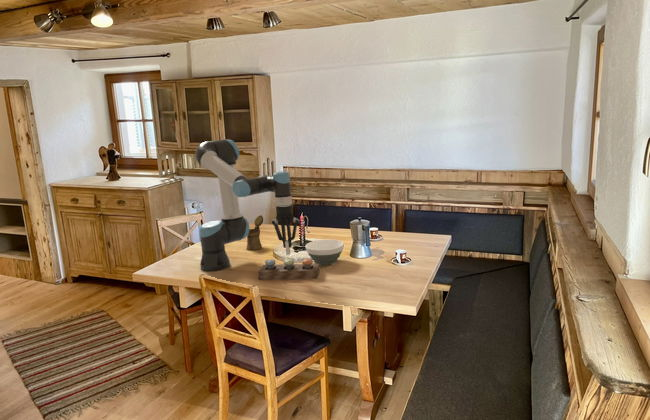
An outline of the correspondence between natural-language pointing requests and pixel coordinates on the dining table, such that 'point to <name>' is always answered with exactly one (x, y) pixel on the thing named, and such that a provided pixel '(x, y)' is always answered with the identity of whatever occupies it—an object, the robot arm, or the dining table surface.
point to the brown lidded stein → (254, 235)
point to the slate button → (270, 264)
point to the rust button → (307, 263)
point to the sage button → (289, 263)
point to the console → (289, 272)
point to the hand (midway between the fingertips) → (288, 254)
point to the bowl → (325, 251)
